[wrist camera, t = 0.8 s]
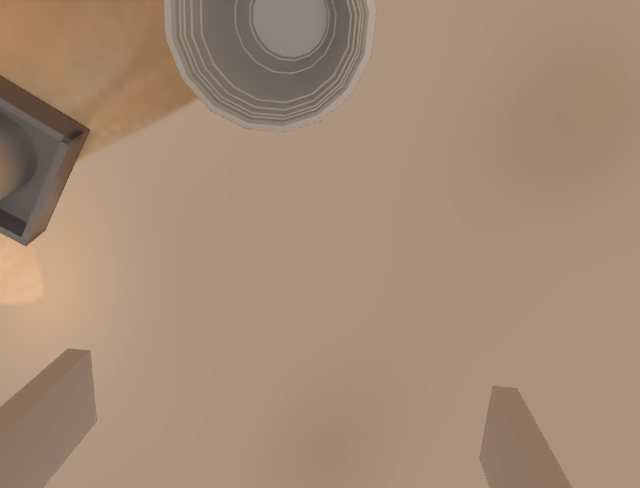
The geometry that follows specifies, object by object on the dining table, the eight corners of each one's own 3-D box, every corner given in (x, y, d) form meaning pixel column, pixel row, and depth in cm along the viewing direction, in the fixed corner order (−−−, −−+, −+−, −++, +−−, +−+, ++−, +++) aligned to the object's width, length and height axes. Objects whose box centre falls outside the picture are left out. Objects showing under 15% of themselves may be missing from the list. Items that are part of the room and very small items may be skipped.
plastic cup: (388, -47, 33) (409, -63, 22) (341, 108, 38) (340, 156, 27) (231, -99, 32) (175, -142, 21) (204, 67, 37) (148, 100, 26)
